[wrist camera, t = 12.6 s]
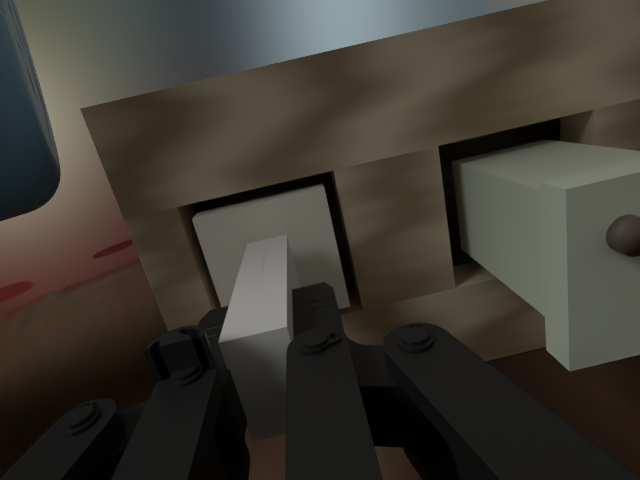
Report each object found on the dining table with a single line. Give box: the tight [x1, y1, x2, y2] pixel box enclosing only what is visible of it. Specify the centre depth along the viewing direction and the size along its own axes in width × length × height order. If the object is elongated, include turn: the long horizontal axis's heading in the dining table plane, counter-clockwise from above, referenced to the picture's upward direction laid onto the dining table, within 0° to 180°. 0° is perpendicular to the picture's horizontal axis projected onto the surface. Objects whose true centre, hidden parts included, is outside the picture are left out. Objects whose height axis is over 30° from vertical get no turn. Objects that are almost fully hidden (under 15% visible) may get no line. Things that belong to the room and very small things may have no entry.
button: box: [192, 177, 350, 309], centre depth 19 cm, size 5×8×5 cm, turn 5°
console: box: [81, 0, 640, 361], centre depth 21 cm, size 30×10×14 cm, turn 95°
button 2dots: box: [452, 139, 640, 371], centre depth 13 cm, size 5×8×5 cm, turn 5°
